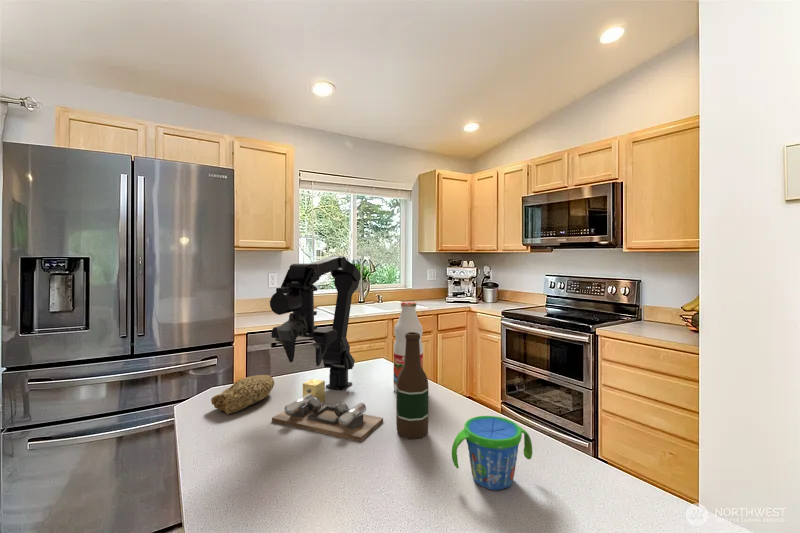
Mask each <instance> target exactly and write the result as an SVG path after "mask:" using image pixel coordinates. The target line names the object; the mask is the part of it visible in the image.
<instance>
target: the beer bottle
mask: <svg viewBox="0 0 800 533" xmlns="http://www.w3.org/2000/svg"><path fill="white" fill-rule="evenodd" d="M405 338H406V348H405V361H404V366H403V368H402V369H401V371H400V372H399V375H398V378H397V392H396V393H395V394H396V400H395V401H396V421H395V422H396V423H395V424H396V431H397V434H398V436H399V437H400V438H403V439H406V440H417V439H418V440H420V439H419V438H421V439H423V438H424V437H425V436H427V434H428V432H429V380H428V376H427V374H426V372H425V370H424V368H423V369H422V367H421V362H420V345H419V339H420V334H419V333H416V332H409V333H406V335H405ZM423 436H424V437H423Z"/></svg>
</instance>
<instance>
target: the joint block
mask: <svg viewBox="0 0 800 533" xmlns="http://www.w3.org/2000/svg"><path fill="white" fill-rule="evenodd" d="M307 394H312V395H313V396H314V397H315V398H318V399H319V400H320V401H321V404H323V403H324V402H325V401H326V380H321V379H314V378H311V379H308V380H307V381H305V382H303V383H302V397H304V396H306V395H307Z"/></svg>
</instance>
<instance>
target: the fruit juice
mask: <svg viewBox="0 0 800 533" xmlns="http://www.w3.org/2000/svg"><path fill="white" fill-rule="evenodd" d="M400 308H401V311H400V314H399V317H398V319H397V322H396V323H395V326H394V329H393V330H394V331H393V332H394V337H395V341H394V343H393V389H394V391H395V392H396V393H397V378H398V375H399V372H400V371H401V369H402V368H403V366H404V361H405V348H406V338H405V335H406V333H409V332H416V333H419V334H420V339H419V345H420V362H421V367H422V369H423V370H424V345H423V344H424V343H423V341H422V338H423V333H424V331H423V328H424V327H423V325H422V324H421V322H420V319H419V317H418V314H417V313H418V312H417V311H416V308H417V302H415V301H402V302H400Z"/></svg>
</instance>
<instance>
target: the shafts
mask: <svg viewBox="0 0 800 533" xmlns="http://www.w3.org/2000/svg"><path fill="white" fill-rule="evenodd" d="M307 403H308V408H309V410H310V411H311V412H313V413H316V412H318V411H319V410H320V409H321V406H322V403H321V401H320V400H319V399H318V398H315V397H314V396H313V395H312V394H307V395H306V396H304V397H303V396H302V397H299V398H298V399H296V400H294V401H292V402H290V403H288V404H287V405H285V406H284V408H283V409H284V411H285V413H286V414H287V415H288V416H290V415H292V414H294V413H296V412H297V411H299V410H300V407H302V406H304V405H305V404H307ZM334 407H335V409H334V411H335V414H336V415H337V417H339V419H338V423H339V425H340V426H342V427H346V426H347V425H348V424H350V423H351V422H352V420H353V419H354V418H355V417H356V416H358V415H359V414H360V413H361V414H364V413H365V412H366V411H367V406H366V404H365V403H363V402H358V403H357V404H356V405H354V406H353V407H352V408H349V406H348V405H347V403H346V402H344V401H342V402H339V403H337V404H336V405H335V406H334ZM349 409H350V410H349Z"/></svg>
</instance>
